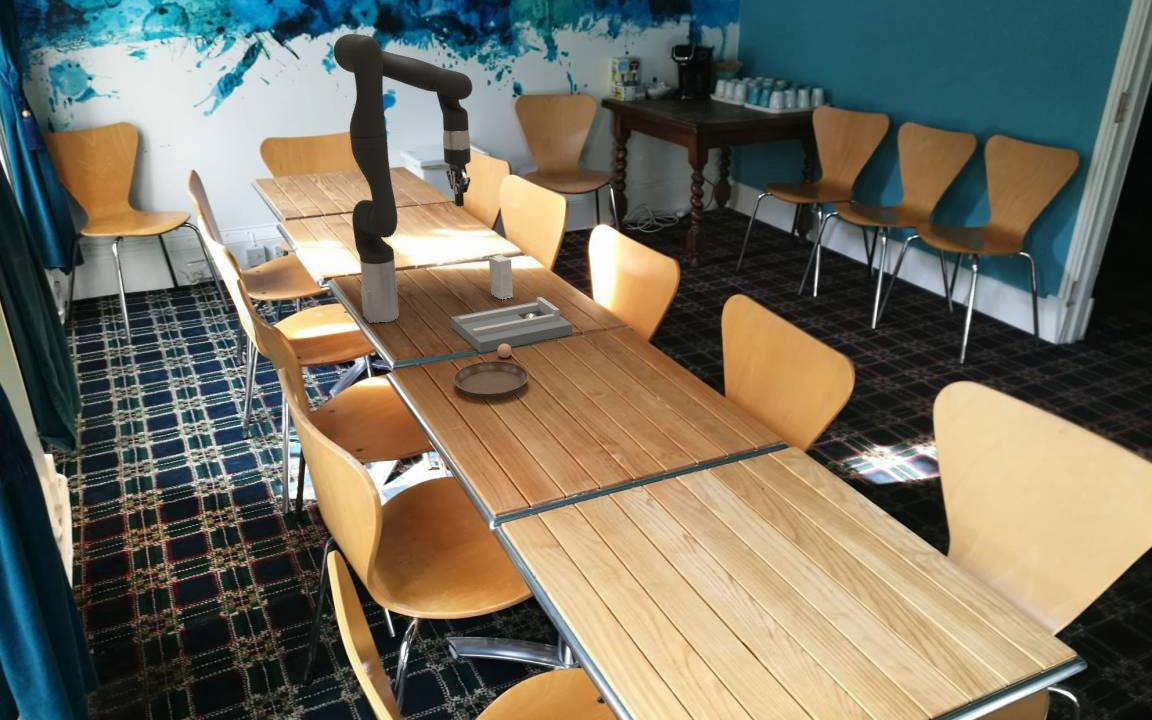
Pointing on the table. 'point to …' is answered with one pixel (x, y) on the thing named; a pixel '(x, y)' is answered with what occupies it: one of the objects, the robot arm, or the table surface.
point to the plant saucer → (491, 379)
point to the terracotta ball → (504, 350)
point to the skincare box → (501, 277)
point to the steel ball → (530, 315)
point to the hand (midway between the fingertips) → (459, 205)
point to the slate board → (511, 325)
